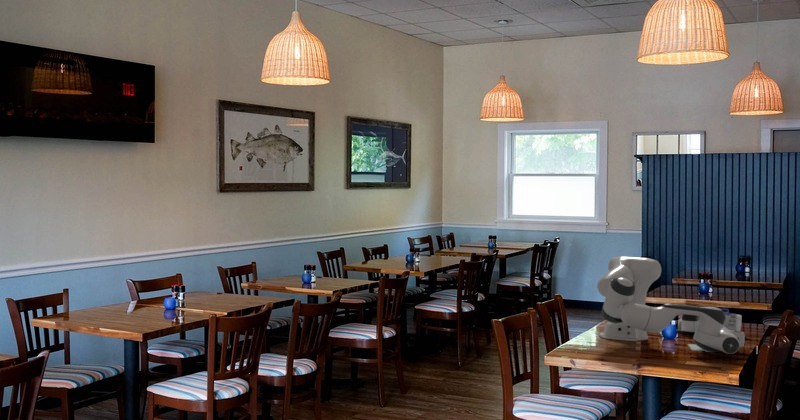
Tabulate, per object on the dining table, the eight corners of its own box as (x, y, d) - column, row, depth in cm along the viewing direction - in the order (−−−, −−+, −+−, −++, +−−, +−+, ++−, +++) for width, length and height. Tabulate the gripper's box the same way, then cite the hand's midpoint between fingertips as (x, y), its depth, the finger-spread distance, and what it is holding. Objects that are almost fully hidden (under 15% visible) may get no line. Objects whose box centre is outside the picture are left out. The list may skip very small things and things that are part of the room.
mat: (692, 350, 352) (692, 349, 352) (687, 345, 364) (687, 344, 364) (713, 352, 350) (713, 350, 350) (708, 346, 362) (708, 345, 362)
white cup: (724, 335, 392) (724, 315, 391) (723, 333, 399) (724, 313, 399) (741, 337, 389) (742, 316, 388) (741, 334, 396) (741, 314, 396)
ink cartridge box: (734, 338, 385) (735, 308, 385) (736, 340, 379) (737, 310, 379) (712, 337, 387) (713, 307, 387) (714, 339, 381) (715, 309, 381)
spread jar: (695, 336, 389) (696, 312, 389) (671, 333, 395) (672, 310, 395) (700, 332, 399) (701, 309, 399) (677, 330, 405) (678, 307, 405)
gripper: (698, 344, 349) (693, 338, 363) (747, 347, 345) (740, 341, 359) (698, 330, 349) (693, 325, 363) (748, 332, 345) (740, 327, 359)
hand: (717, 333), depth 361 cm, fingers open, 8 cm apart
